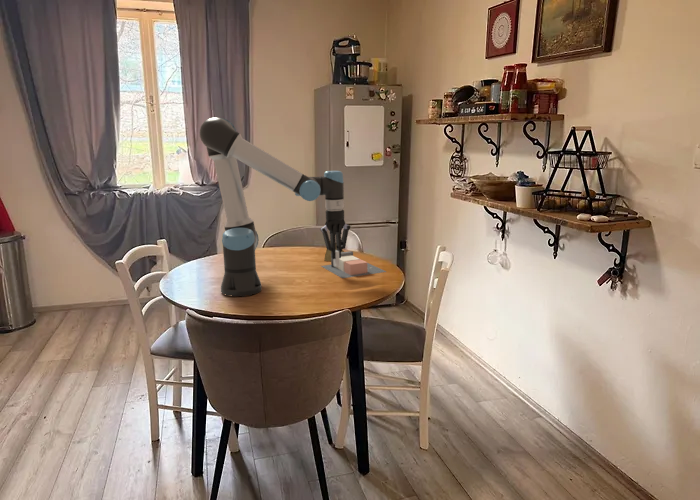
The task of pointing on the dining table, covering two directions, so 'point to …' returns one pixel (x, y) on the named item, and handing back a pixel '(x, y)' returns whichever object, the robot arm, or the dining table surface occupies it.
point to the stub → (355, 267)
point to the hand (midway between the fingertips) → (336, 266)
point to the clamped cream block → (344, 259)
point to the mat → (343, 274)
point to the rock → (329, 255)
